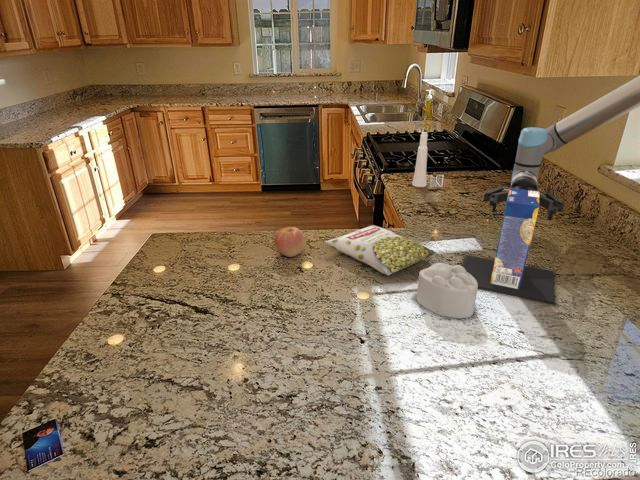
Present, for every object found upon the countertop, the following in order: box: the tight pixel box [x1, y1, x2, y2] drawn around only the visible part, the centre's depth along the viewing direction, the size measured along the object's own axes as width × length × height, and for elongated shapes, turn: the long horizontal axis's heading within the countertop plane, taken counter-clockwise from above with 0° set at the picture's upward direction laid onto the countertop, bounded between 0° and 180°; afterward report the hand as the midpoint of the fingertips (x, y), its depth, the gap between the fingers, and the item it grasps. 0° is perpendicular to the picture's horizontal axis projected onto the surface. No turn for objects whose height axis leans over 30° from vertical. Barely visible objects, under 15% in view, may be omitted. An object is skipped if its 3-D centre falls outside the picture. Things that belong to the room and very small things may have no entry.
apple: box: [273, 226, 306, 258], centre depth 122 cm, size 9×9×8 cm
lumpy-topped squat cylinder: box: [416, 262, 479, 319], centre depth 99 cm, size 10×13×9 cm
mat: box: [462, 254, 555, 305], centre depth 111 cm, size 22×16×1 cm
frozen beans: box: [324, 224, 438, 276], centre depth 121 cm, size 21×6×25 cm
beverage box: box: [490, 187, 540, 289], centre depth 106 cm, size 7×11×22 cm, turn 155°
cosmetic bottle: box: [411, 131, 429, 188], centre depth 174 cm, size 6×6×22 cm
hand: (521, 211), depth 111 cm, fingers open, 13 cm apart
